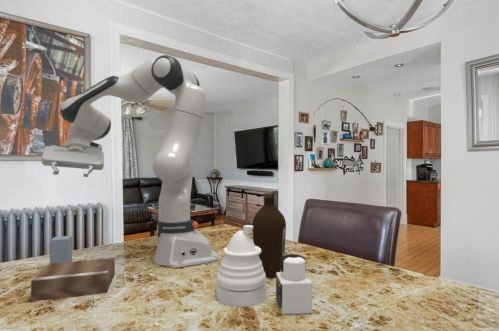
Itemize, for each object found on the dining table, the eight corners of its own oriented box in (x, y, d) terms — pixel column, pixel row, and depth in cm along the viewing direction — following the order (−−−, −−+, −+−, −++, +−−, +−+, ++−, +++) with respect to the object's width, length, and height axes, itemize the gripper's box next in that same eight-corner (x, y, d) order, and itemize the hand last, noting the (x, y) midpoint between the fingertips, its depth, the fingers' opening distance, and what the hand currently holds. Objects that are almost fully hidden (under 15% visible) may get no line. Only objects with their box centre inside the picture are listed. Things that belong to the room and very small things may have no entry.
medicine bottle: (275, 300, 71) (275, 252, 72) (304, 299, 72) (303, 251, 72) (281, 315, 64) (281, 261, 64) (312, 313, 65) (312, 260, 65)
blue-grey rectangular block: (72, 265, 98) (72, 235, 98) (67, 270, 93) (67, 239, 93) (55, 266, 96) (55, 236, 96) (49, 271, 91) (49, 240, 91)
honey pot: (271, 288, 79) (271, 222, 79) (257, 310, 66) (257, 232, 67) (228, 282, 83) (228, 220, 83) (207, 302, 71) (207, 228, 71)
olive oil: (253, 278, 86) (253, 194, 86) (251, 266, 96) (251, 191, 96) (288, 278, 86) (288, 194, 86) (283, 266, 97) (283, 191, 97)
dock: (114, 274, 89) (114, 257, 89) (106, 292, 76) (107, 272, 76) (51, 280, 84) (51, 262, 84) (30, 301, 71) (31, 280, 71)
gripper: (45, 138, 107) (35, 166, 98) (106, 145, 115) (102, 171, 106) (46, 150, 111) (37, 177, 102) (105, 156, 119) (101, 182, 111)
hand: (70, 174), depth 104 cm, fingers open, 8 cm apart
